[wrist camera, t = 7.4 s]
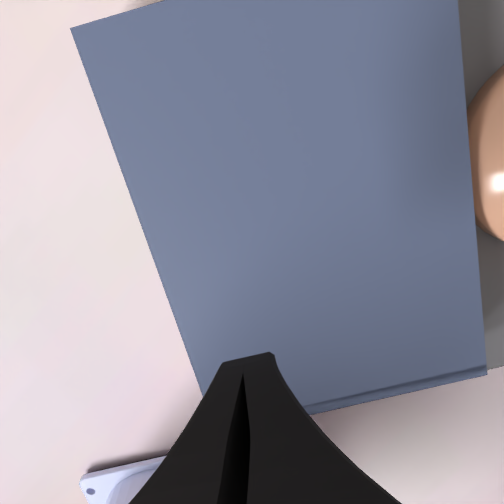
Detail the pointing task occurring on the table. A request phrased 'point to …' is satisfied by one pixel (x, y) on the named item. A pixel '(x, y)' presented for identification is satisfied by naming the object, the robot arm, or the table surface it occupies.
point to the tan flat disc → (488, 154)
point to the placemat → (475, 75)
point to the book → (302, 185)
